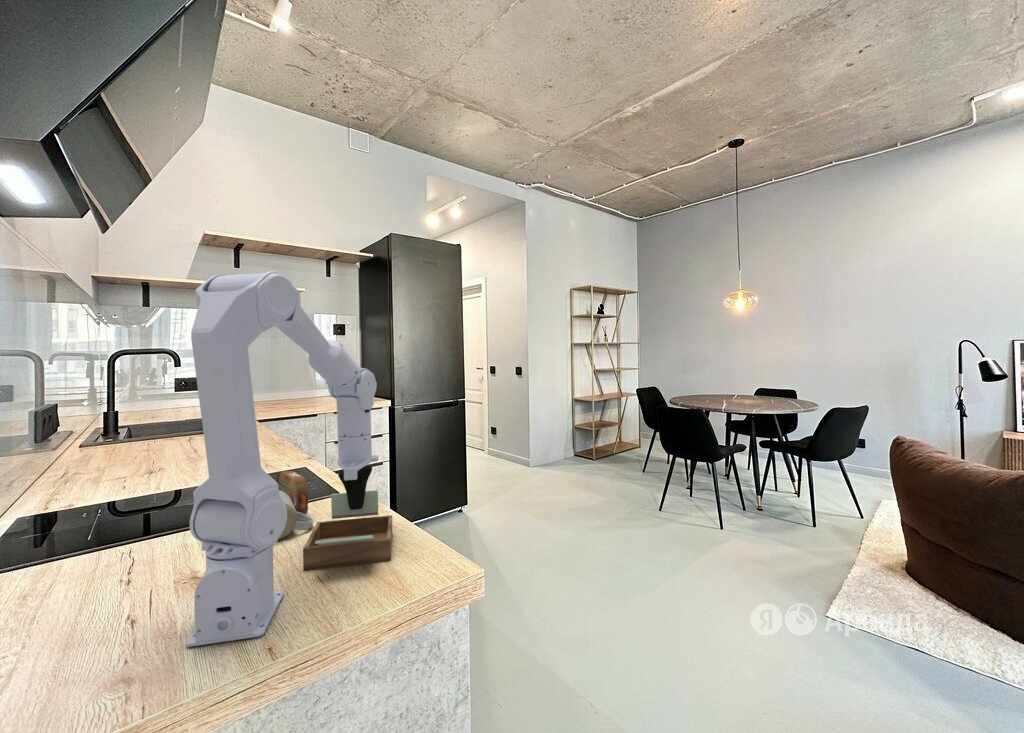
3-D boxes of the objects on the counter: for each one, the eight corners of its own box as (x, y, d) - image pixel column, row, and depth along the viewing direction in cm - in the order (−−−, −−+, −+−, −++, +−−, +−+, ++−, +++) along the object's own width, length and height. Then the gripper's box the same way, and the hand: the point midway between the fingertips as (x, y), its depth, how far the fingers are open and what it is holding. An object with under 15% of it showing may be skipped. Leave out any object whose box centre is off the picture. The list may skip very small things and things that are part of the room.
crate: (390, 560, 69) (390, 539, 69) (303, 570, 66) (302, 548, 66) (392, 533, 80) (392, 515, 80) (317, 540, 77) (317, 522, 77)
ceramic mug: (252, 548, 74) (252, 504, 74) (246, 533, 80) (246, 492, 80) (318, 533, 81) (318, 493, 80) (307, 520, 87) (307, 483, 87)
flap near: (320, 541, 67) (320, 545, 67) (315, 540, 63) (314, 543, 63) (374, 536, 69) (374, 539, 69) (372, 534, 65) (372, 538, 65)
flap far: (378, 515, 79) (378, 514, 80) (377, 491, 79) (377, 490, 79) (331, 519, 77) (332, 518, 78) (331, 495, 77) (331, 493, 77)
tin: (274, 505, 95) (273, 468, 95) (289, 502, 97) (289, 465, 97) (294, 525, 84) (294, 483, 84) (311, 521, 86) (311, 479, 86)
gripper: (374, 440, 72) (376, 520, 72) (380, 425, 86) (381, 492, 86) (329, 443, 70) (332, 525, 70) (342, 427, 84) (344, 496, 85)
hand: (356, 507), depth 78 cm, fingers closed, pressing on flap far
